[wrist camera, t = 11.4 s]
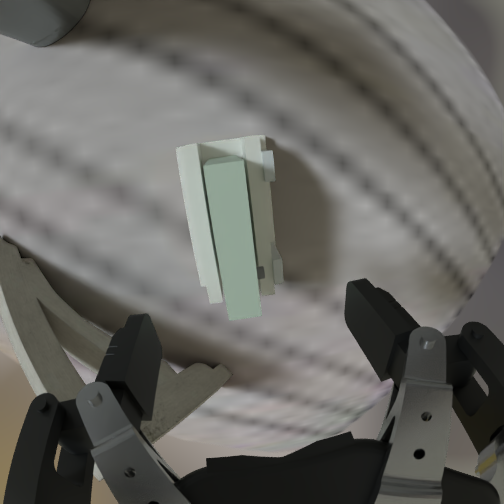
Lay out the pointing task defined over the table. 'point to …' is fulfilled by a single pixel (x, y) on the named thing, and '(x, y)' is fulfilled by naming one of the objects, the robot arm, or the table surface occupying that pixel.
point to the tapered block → (233, 235)
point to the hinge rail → (260, 206)
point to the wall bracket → (83, 348)
